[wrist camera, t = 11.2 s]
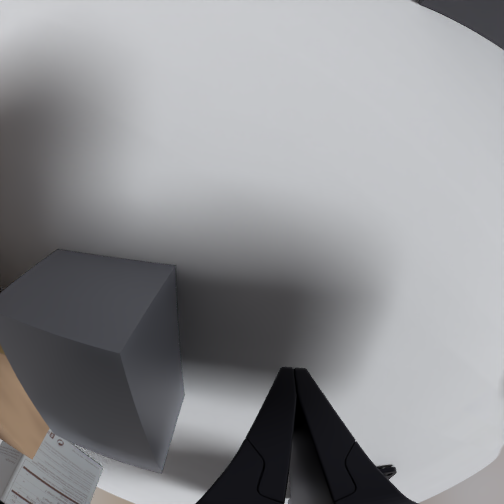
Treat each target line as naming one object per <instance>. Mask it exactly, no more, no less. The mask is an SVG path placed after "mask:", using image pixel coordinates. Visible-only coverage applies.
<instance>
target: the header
mask: <svg viewBox="0 0 504 504" xmlns="http://www.w3.org/2000/svg"><path fill="white" fill-rule="evenodd" d="M49 429H50V428H49V427H48V425H47V424H46V422H45V421H44V420H43V418H42V417H41V415H40V414H39V412H38V411H37V409H36V408H35V406H34V405H33V403H32V401H31V400H30V398H29V397H28V395H27V393H26V392H25V390H24V388H23V387H22V385H21V383H20V381H19V380H18V378H17V376H16V374H15V373H14V371H13V369H12V367H11V365H10V363H9V361H8V359H7V357H6V355H5V353H4V351H3V349H2V347H1V345H0V439H2V440H3V441H4V442H6V443H7V444H9V445H10V446H12V447H13V448H15V449H16V450H18V451H19V452H21V453H22V454H24V455H25V456H27V457H29V458H30V459H32V460H33V458H34V456H35V454H36V452H37V450H38V448H39V447H40V445H41V443H42V441H43V439H44V438H45V436H46V434H47V432H48V430H49Z"/></svg>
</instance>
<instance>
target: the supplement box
mask: <svg viewBox="0 0 504 504" xmlns="http://www.w3.org/2000/svg"><path fill="white" fill-rule="evenodd" d="M102 470H103V468H102V466H101V465H99V464H98V463H97V462H95V461H94V460H93V459H91V458H90V457H88V456H87V455H86V454H85V453H83V452H82V451H81V450H79V449H78V448H77V447H76V446H74V445H73V444H72V443H71V442H69V441H67V440H65V439H63V438H61V437H59V436H57V435H55V434H54V433H53V432H52V431H51V429H49V430H48V432H47V434H46V436H45V438H44V439H43V441H42V443H41V445H40V447H39V448H38V450H37V452H36V454H35V456H34V458H33V460H32V459H30V458H29V457H27V456H25V455H24V454H22V453H21V452H19V451H18V450H16V449H15V448H13V447H12V446H10V445H9V444H7V443H6V442H4V441H2V443H1V445H0V500H1V501H3V502H4V503H5V504H90V502H91V500H92V497H93V494H94V491H95V489H96V486H97V483H98V481H99V478H100V476H101V473H102Z"/></svg>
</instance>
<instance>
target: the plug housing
mask: <svg viewBox="0 0 504 504" xmlns="http://www.w3.org/2000/svg"><path fill="white" fill-rule="evenodd" d="M0 345H1V347H2V349H3V351H4V353H5V355H6V357H7V359H8V361H9V363H10V365H11V367H12V369H13V371H14V373H15V374H16V376H17V378H18V380H19V381H20V383H21V385H22V387H23V388H24V390H25V392H26V393H27V395H28V397H29V398H30V400H31V401H32V403H33V405H34V406H35V408H36V409H37V411H38V412H39V414H40V415H41V417H42V418H43V420H44V421H45V422H46V424H47V425H48V427H49V428H50V429H51V431H52V432H53V433H54V434H55V435H57V436H59V437H61V438H63V439H65V440H67V441H69V442H72V443H74V444H76V445H79V446H81V447H83V448H86V449H88V450H91V451H93V452H96V453H98V454H101V455H103V456H106V457H109V458H112V459H115V460H118V461H120V462H123V463H127V464H130V465H133V466H136V467H140V468H143V469H147V470H150V471H154V472H158V473H162V470H163V467H164V463H165V460H166V456H167V453H168V450H169V446H170V443H171V439H172V436H173V432H174V429H175V426H176V422H177V419H178V416H179V412H180V409H181V406H182V402H183V399H184V396H185V394H184V385H183V375H182V365H181V354H180V342H179V328H178V312H177V292H176V265H168V264H160V263H153V262H145V261H137V260H130V259H122V258H115V257H108V256H101V255H94V254H87V253H80V252H73V251H66V250H60V249H58V250H56V251H55V252H53V253H52V254H50V255H49V256H48V257H46V258H45V259H44V260H42V261H41V262H39V263H38V264H37V265H35V266H34V267H33V268H31V269H30V270H29V271H27V272H26V273H25V274H23V275H22V276H21V277H20V278H18V279H17V280H16V281H14V282H13V283H12V284H11V285H9V286H8V287H7V288H6V289H4V290H3V291H2V292H1V293H0Z"/></svg>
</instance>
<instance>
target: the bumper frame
mask: <svg viewBox="0 0 504 504" xmlns="http://www.w3.org/2000/svg"><path fill="white" fill-rule="evenodd" d="M419 4H421V5H423V6H425V7H428V8H430V9H432V10H435V11H437V12H439V13H441V14H443V15H445V16H447V17H449V18H451V19H453V20H455V21H457V22H459V23H461V24H463V25H465V26H467V27H468V28H470V29H472V30H474V31H475V32H477V33H479V34H481V35H482V36H484V37H485V38H487V39H489V40H490V41H492V42H493V43H495V44H497V45H498V46H500V47H501V48H503V49H504V0H419Z"/></svg>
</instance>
